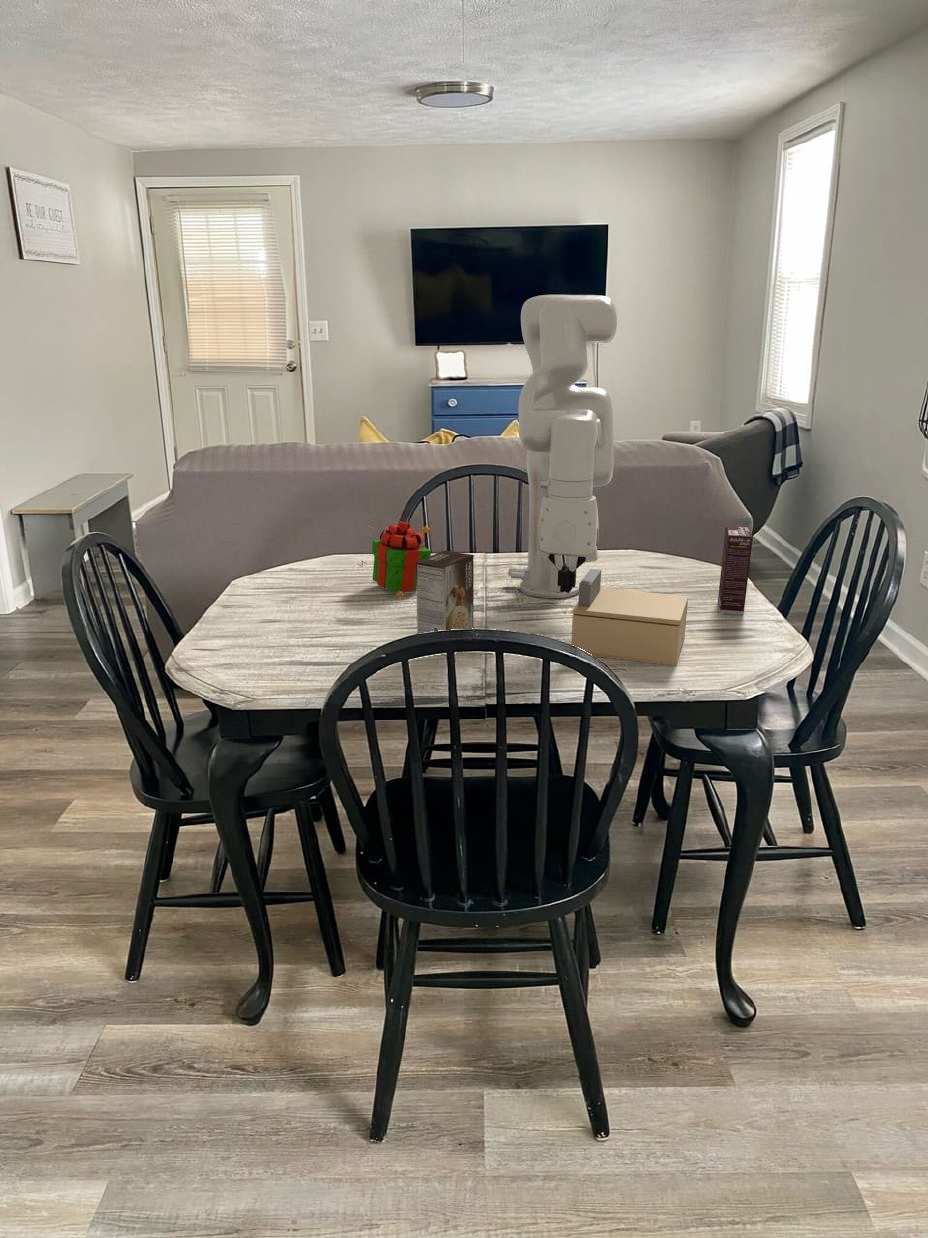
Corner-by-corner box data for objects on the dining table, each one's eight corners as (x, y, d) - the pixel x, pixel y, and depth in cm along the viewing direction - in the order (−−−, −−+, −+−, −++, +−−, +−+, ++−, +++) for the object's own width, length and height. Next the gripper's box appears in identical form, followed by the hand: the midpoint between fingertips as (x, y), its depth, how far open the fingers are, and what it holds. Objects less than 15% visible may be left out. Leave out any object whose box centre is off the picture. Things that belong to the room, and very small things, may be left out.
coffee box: (444, 634, 170) (444, 549, 165) (474, 640, 167) (475, 554, 162) (416, 649, 163) (414, 560, 157) (446, 656, 160) (446, 566, 154)
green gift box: (453, 598, 197) (462, 532, 192) (376, 604, 186) (383, 534, 182) (405, 571, 212) (412, 509, 207) (331, 574, 201) (337, 510, 197)
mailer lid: (572, 613, 159) (573, 586, 157) (588, 590, 171) (589, 565, 170) (679, 625, 153) (682, 597, 152) (687, 600, 166) (690, 574, 164)
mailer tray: (570, 653, 161) (572, 615, 159) (586, 627, 174) (588, 592, 171) (676, 666, 156) (679, 626, 153) (684, 638, 168) (687, 602, 166)
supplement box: (744, 616, 181) (753, 536, 175) (719, 614, 182) (727, 535, 176) (741, 602, 189) (749, 526, 183) (717, 601, 190) (724, 525, 184)
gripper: (522, 489, 158) (520, 592, 164) (610, 495, 153) (604, 601, 159) (534, 481, 165) (531, 580, 171) (617, 487, 160) (611, 589, 166)
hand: (566, 590), depth 165 cm, fingers closed
